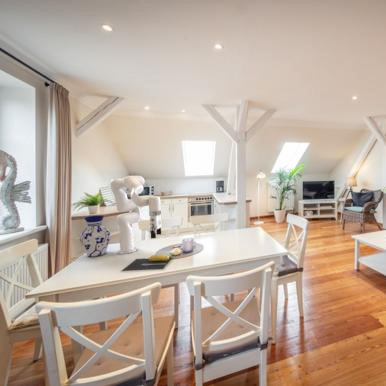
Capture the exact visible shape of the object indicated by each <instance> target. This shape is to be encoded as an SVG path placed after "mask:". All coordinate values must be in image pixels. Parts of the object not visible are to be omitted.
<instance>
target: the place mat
mask: <svg viewBox="0 0 386 386" xmlns="http://www.w3.org/2000/svg"><path fill="white" fill-rule="evenodd" d="M172 259H173V257H171V258H169V260H167V261H150V260H149V258H136V259H134V261H132V262H131V263H130V264H129V265H127V266H125V268H123V269H121V272H129V271H130V272H131V271H153V270H163V269H165V267H166V266H167V265H169V263H170V262H171V261H172ZM164 263H166V264H165V265H148V266H141V265H142V264H164Z"/></svg>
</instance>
